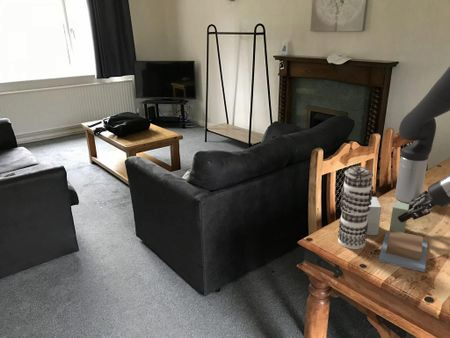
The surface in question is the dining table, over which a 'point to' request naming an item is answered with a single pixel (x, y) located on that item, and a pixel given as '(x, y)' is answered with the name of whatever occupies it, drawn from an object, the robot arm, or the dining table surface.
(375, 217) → the small box
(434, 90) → the robot arm
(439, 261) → the dining table surface
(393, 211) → the sage block
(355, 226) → the decorative candle
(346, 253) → the dining table surface
